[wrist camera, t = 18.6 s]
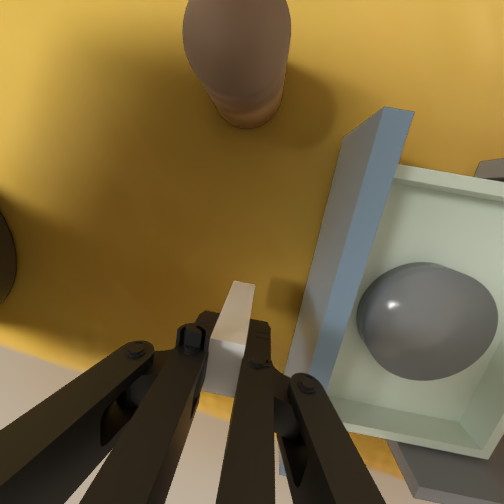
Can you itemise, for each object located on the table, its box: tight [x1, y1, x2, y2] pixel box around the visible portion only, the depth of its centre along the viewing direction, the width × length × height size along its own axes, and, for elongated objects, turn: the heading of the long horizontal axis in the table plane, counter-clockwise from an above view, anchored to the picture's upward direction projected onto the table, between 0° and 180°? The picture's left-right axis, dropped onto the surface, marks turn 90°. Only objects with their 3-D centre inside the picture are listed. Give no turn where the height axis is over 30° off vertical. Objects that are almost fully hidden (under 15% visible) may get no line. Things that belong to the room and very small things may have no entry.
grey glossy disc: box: [356, 262, 498, 381], centre depth 18 cm, size 9×9×2 cm
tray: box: [278, 107, 504, 476], centre depth 16 cm, size 17×24×6 cm
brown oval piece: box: [183, 0, 291, 129], centre depth 14 cm, size 5×5×6 cm
